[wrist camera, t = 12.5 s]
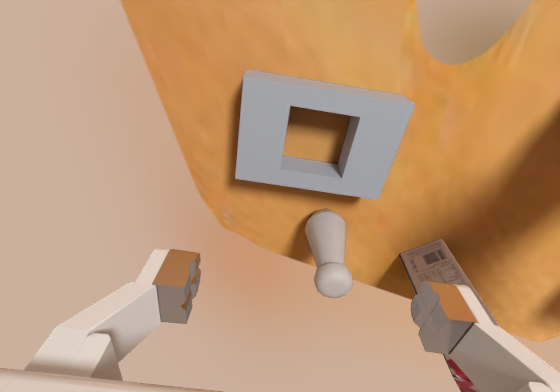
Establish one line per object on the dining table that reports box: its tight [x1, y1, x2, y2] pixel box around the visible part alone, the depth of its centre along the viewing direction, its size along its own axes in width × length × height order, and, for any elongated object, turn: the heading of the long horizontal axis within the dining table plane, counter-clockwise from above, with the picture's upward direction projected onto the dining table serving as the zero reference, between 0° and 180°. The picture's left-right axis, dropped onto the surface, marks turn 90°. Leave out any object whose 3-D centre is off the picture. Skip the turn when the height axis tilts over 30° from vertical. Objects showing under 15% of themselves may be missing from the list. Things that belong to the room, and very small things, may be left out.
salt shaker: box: [305, 208, 353, 298], centre depth 39 cm, size 6×6×13 cm
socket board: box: [235, 69, 415, 200], centre depth 35 cm, size 18×12×4 cm, turn 81°
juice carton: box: [399, 238, 499, 392], centre depth 38 cm, size 7×7×22 cm
